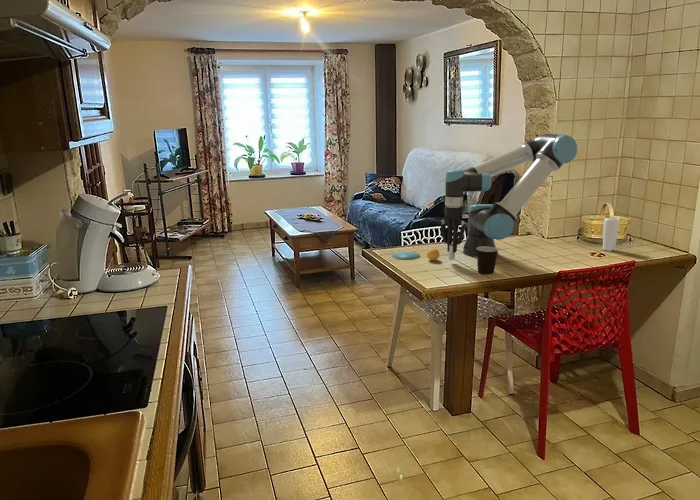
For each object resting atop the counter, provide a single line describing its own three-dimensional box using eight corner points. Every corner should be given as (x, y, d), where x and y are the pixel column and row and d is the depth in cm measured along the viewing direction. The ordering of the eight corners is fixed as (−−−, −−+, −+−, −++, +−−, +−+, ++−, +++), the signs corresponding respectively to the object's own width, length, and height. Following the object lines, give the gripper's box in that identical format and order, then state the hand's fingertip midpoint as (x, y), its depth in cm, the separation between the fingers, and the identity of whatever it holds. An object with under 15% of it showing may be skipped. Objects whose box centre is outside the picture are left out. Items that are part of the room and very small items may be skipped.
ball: (441, 259, 237) (441, 248, 235) (435, 262, 233) (436, 250, 231) (430, 258, 240) (430, 246, 239) (424, 260, 236) (424, 248, 234)
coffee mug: (493, 276, 212) (494, 252, 209) (472, 273, 216) (473, 250, 214) (501, 269, 221) (502, 246, 219) (481, 266, 226) (482, 243, 223)
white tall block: (617, 249, 249) (621, 218, 245) (615, 252, 244) (619, 221, 240) (601, 247, 253) (605, 217, 249) (599, 250, 247) (603, 219, 243)
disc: (425, 254, 246) (425, 254, 246) (411, 261, 235) (411, 260, 235) (400, 250, 253) (400, 250, 253) (386, 257, 243) (386, 256, 243)
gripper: (435, 206, 225) (434, 259, 231) (464, 208, 218) (462, 263, 224) (443, 203, 231) (441, 255, 237) (471, 206, 224) (469, 259, 230)
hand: (451, 259), depth 231 cm, fingers closed
